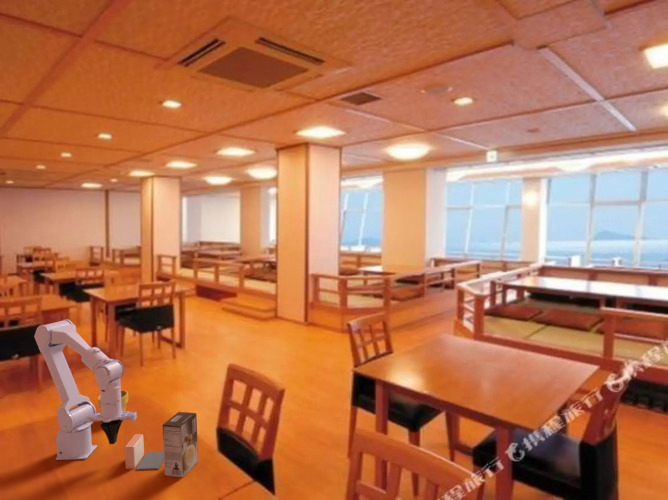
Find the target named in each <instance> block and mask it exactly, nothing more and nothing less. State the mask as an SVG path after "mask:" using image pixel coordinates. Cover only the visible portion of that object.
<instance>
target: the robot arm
mask: <svg viewBox="0 0 668 500" xmlns="http://www.w3.org/2000/svg"><path fill="white" fill-rule="evenodd" d="M33 337H34V339H35V342H36V345H37V346H38V349H39V351H40V353H41V354H42V356H43V358H44V360H45V363H46V366H47V369H48V371H49V373H50V376H51V378H52V380H53V384H54V385H55V389H56V390H57V394H58V395H59V398H60V400H61V404H60V405H59V407H58V409H57V410H56V415H57V423H58V427H59V430H58V432H57V435H56V440H55V441H56V442H55V443H56V457H55V461H62V460H63V461H65V460H67V461H68V460H86V459H88V458H89V457H90V456H91V454H92V453H93V452H94V451H95V449H97V447H98V444H92V441H93V440H92V427H91V426H92V424H93V423H94V422H101V424H100V428H101V429H102V430H103V432H104V433H105V435H106V438H107V440H108V445H114V444H115V443H116V442H117V441H118V440H117V439H118V434H119V431H120V429H121V428H120V427H121V426H122V423H123V422H124V421H131V422H135V421H136V420H137V419H138V416H137V415H138V413H137V411H135V412H133V411H126V410H125V411H122V406H121V390H122V387H121V378H122V377H123V376H124V374H125V367H124V365H123V363H122V361H120V360H119V359H113V358H109V357H108V356H107V354H105V353H104V352H103V351H102V350H101V349H100V348H98V347H96V346H93V347H91V346H90V345H89V344H88V343H87V342H86V340H84V338H82V336H81V335H80V334H79V333H78V332H77V327H76V325H75V324H74V323H73V322H72V321H71V320H70V319H68V318H67V319H63V320H60V321H57V322H52V323H51V322H50V323H47V324H41V325H38V327H37V328H36V331H35V333H34V336H33ZM66 346H68V347H69V348H70V349H71V350H73V351H74V352H76V353H77V354H78V355H79V356H81V362H82V363H83V364H84V365H85V366H86V367H87V368H88V369H90V370H91V371H92V372H93V373H94V379H95V381H96V382H97V387H98V389H99V390H100V391H99V396H101V408H100V409H101V410H100V411H101V412H97V409H96V406H95V405H94V404H93V403H92V402H91V399H90V397H88V396H86V395H83V394H81V393H80V391H79V389H78V386H77V383H76V381H75V379H74V377H73V374H72V371H71V369H70V367H69V365H68V361H67V359H66V357H65V354H64V352H63V351H64V348H65V347H66ZM73 407H74V408H73Z"/></svg>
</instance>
